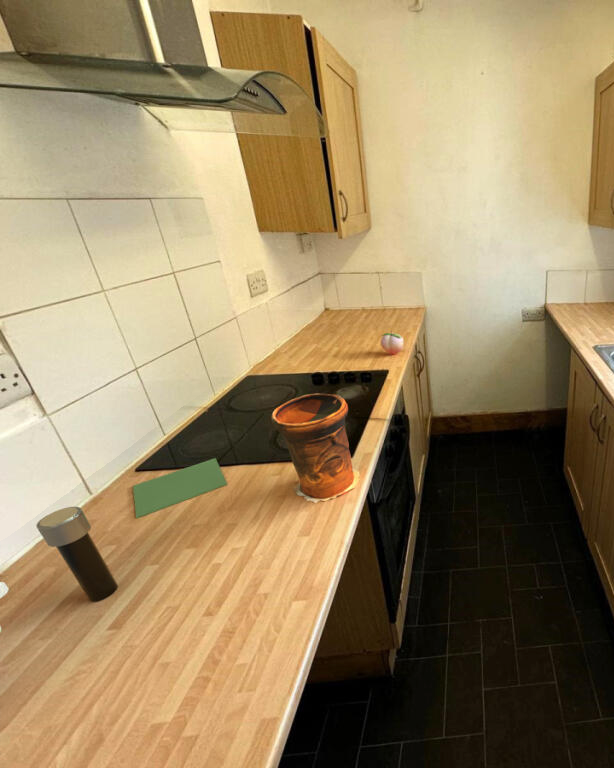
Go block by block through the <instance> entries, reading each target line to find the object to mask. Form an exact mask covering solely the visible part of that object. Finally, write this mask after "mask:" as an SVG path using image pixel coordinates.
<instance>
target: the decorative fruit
mask: <svg viewBox="0 0 614 768" xmlns="http://www.w3.org/2000/svg"><path fill="white" fill-rule="evenodd" d="M380 337H381V339H380V346H381V348H382V349H383V350H384V351H385V352H387V353H388V354H390V355H397V354H398V353H400V352H401V351H402V350H403V348H404V344H405V343H404V338H403V337H402V335H400V334H399V333H396V332H386V333H383V334H382V335H381V336H380Z"/></svg>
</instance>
